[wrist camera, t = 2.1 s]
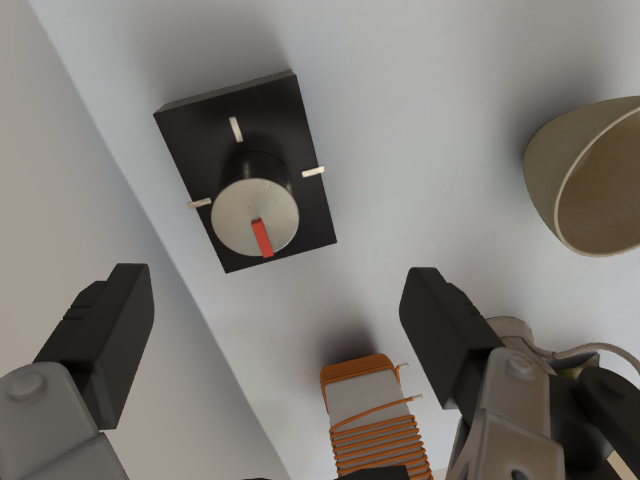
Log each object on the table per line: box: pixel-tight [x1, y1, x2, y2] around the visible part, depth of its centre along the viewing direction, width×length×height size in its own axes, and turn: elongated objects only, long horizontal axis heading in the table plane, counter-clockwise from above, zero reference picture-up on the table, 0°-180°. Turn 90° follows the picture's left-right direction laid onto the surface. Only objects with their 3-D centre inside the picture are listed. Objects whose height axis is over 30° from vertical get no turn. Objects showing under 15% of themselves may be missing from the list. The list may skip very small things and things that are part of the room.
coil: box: [320, 353, 433, 480], centre depth 31 cm, size 7×15×15 cm, turn 10°
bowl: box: [523, 96, 640, 257], centre depth 25 cm, size 10×10×7 cm
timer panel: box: [153, 70, 337, 274], centre depth 24 cm, size 11×9×3 cm
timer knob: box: [211, 152, 299, 258], centre depth 20 cm, size 4×4×5 cm
